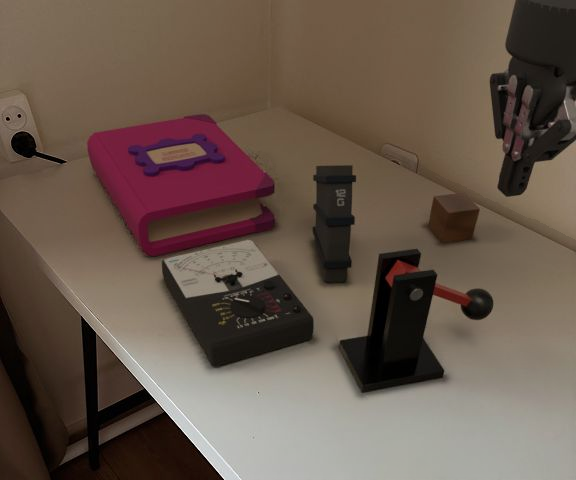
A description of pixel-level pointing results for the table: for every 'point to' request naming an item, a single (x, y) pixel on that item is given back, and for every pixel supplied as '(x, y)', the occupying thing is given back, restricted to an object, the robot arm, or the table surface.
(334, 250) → the magazine
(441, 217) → the block
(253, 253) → the multimeter
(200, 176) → the book
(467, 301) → the lever
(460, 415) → the table surface
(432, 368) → the bracket
